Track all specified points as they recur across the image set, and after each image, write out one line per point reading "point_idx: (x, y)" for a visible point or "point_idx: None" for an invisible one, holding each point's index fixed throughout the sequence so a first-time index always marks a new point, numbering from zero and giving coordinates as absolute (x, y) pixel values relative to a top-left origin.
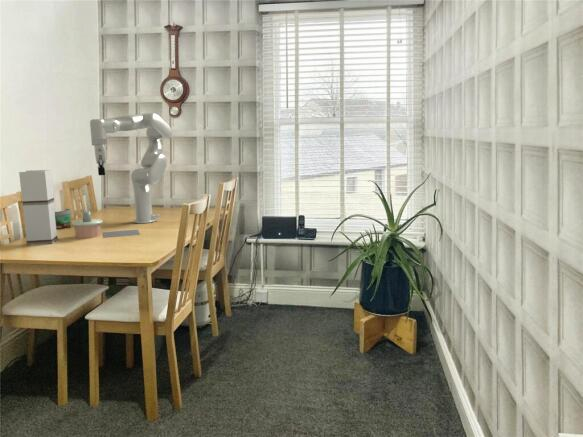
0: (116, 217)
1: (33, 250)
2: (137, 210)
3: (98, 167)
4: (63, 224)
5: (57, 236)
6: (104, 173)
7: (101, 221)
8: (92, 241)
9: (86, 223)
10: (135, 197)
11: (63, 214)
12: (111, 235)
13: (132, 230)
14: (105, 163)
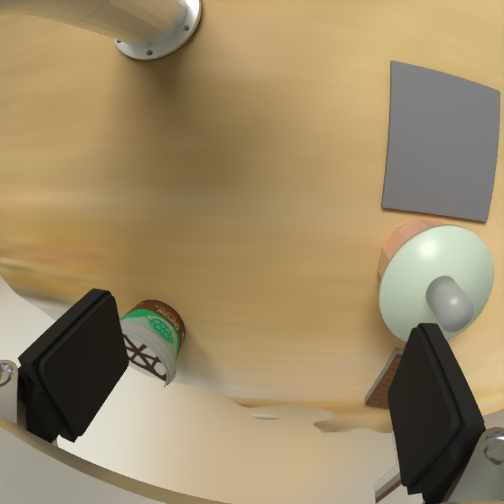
0: (22, 140)
1: (485, 383)
2: (149, 24)
3: (79, 431)
4: (178, 332)
5: (398, 355)
6: (442, 341)
7: (477, 236)
8: (498, 257)
9: (483, 296)
10: (102, 11)
11: (170, 354)
12: (468, 187)
13: (406, 86)
14: (489, 501)
